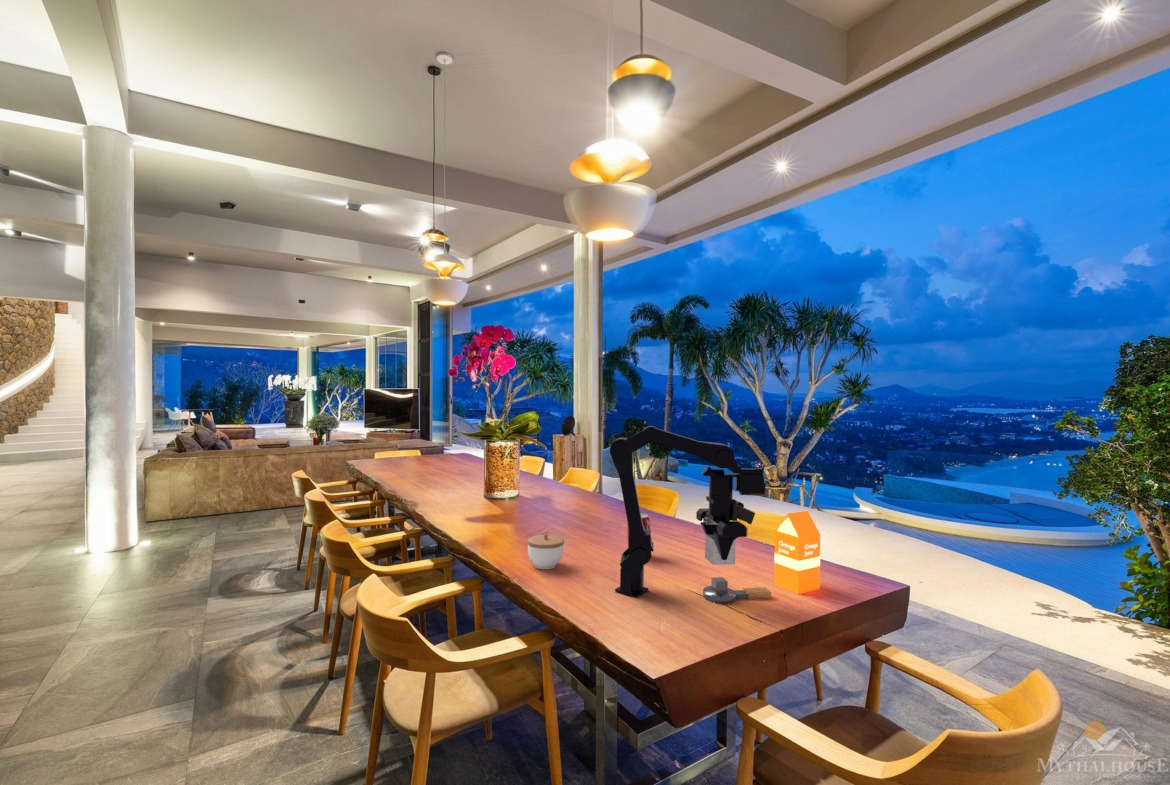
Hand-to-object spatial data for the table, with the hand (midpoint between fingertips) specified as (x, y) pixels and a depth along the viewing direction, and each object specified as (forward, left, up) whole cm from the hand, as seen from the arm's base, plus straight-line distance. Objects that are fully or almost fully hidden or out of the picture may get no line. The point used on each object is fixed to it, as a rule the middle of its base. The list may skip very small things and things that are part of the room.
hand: (719, 556), depth 126 cm
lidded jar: (-11, +49, -11) cm, 51 cm away
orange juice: (+21, -13, -11) cm, 27 cm away
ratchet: (+3, -3, -10) cm, 11 cm away
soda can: (+15, +33, -11) cm, 38 cm away
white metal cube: (0, 0, -1) cm, 1 cm away
